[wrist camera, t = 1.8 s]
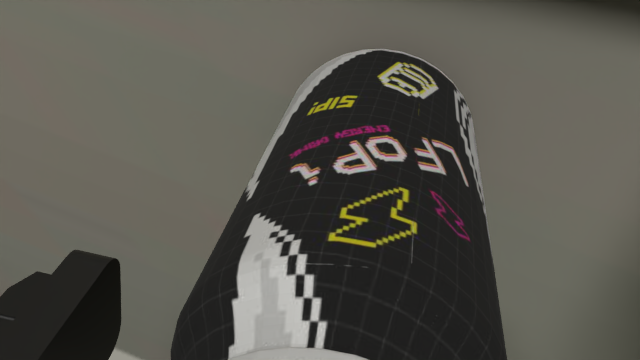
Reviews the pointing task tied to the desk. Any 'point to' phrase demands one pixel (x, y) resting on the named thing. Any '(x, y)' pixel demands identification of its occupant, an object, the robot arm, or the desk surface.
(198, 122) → the desk surface
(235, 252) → the beverage can
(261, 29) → the desk surface
